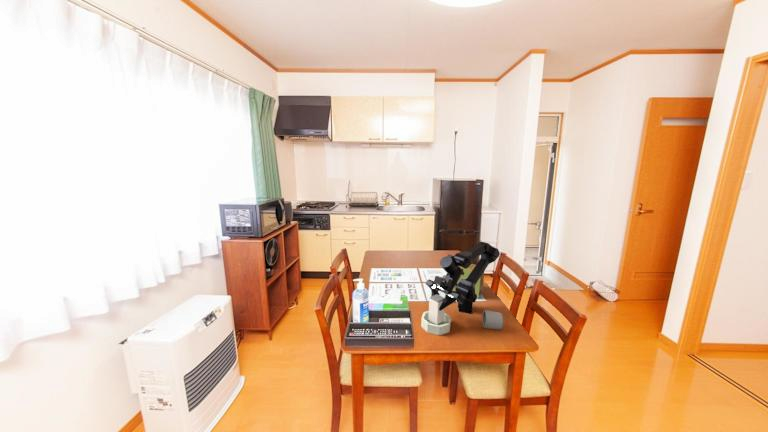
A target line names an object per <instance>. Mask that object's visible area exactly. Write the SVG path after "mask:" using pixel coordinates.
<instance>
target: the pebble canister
mask: <svg viewBox="0 0 768 432" xmlns="http://www.w3.org/2000/svg"><path fill="white" fill-rule="evenodd" d="M444 299H445V296H444V297H443V296H441V294H440V295H438V294H436V295H434V296H432V297H431V296H430V297H429V300H428V311H429V318H428V320H430V321H432V322H433V323H435V324H439V323H441V322H443V321H444V318H445V313H446V307H445V308H444V309H443V310H441V311H440V310H439V308H440V306H441V304H442V303H443V301H444Z"/></svg>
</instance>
